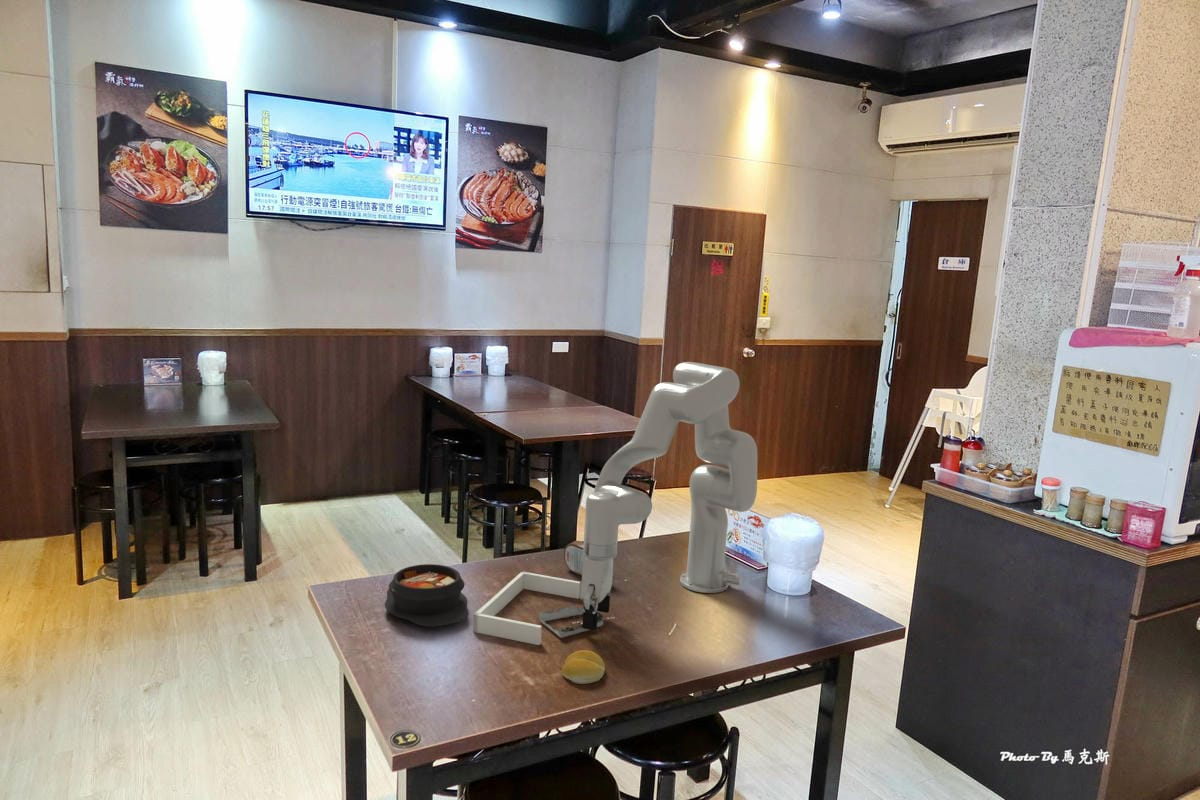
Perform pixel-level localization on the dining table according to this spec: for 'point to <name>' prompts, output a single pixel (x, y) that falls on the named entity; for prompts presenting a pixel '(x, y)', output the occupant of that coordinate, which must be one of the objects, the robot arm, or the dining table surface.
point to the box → (524, 580)
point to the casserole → (427, 595)
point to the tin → (574, 557)
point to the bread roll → (583, 667)
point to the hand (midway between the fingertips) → (596, 619)
